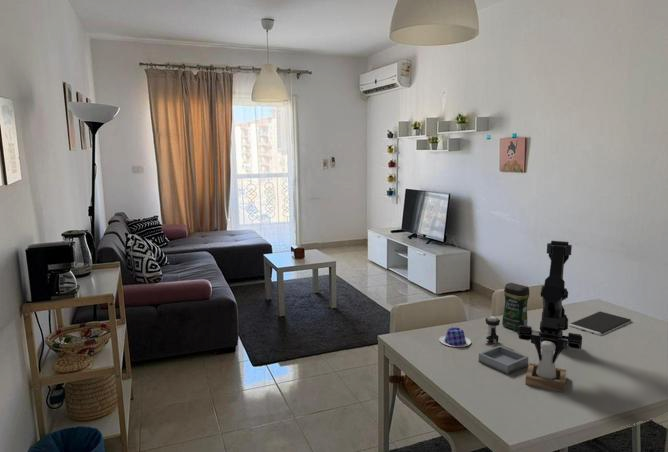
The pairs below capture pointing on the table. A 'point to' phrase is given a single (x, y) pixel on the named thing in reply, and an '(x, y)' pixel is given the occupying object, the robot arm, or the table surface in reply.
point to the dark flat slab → (600, 323)
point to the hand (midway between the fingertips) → (546, 361)
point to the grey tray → (503, 359)
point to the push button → (492, 329)
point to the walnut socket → (545, 382)
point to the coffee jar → (515, 305)
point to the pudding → (455, 338)
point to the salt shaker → (547, 361)
